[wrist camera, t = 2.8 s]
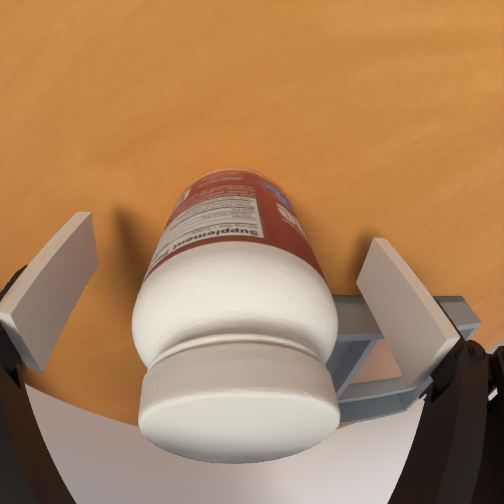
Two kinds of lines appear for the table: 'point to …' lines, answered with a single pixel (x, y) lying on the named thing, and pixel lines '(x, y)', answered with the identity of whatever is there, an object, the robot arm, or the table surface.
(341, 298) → the walled box
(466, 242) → the table surface
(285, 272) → the pill bottle
